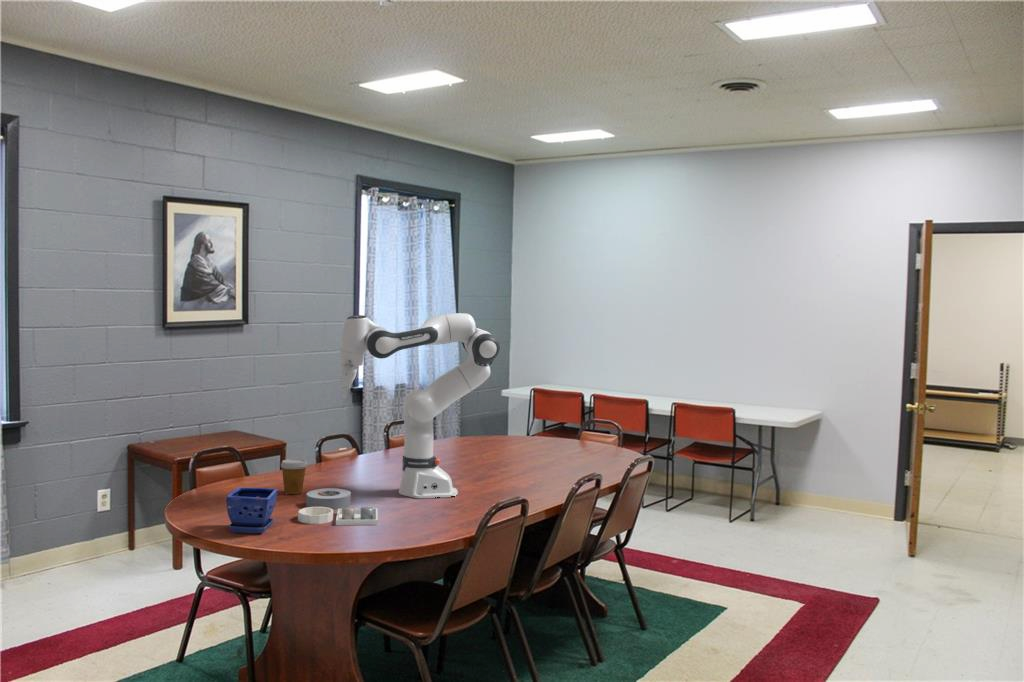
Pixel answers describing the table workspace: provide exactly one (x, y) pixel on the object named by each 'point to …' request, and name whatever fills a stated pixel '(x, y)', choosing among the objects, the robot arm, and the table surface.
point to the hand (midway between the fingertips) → (345, 395)
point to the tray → (357, 518)
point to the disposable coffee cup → (293, 475)
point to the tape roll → (328, 498)
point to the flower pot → (251, 509)
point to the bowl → (315, 515)
